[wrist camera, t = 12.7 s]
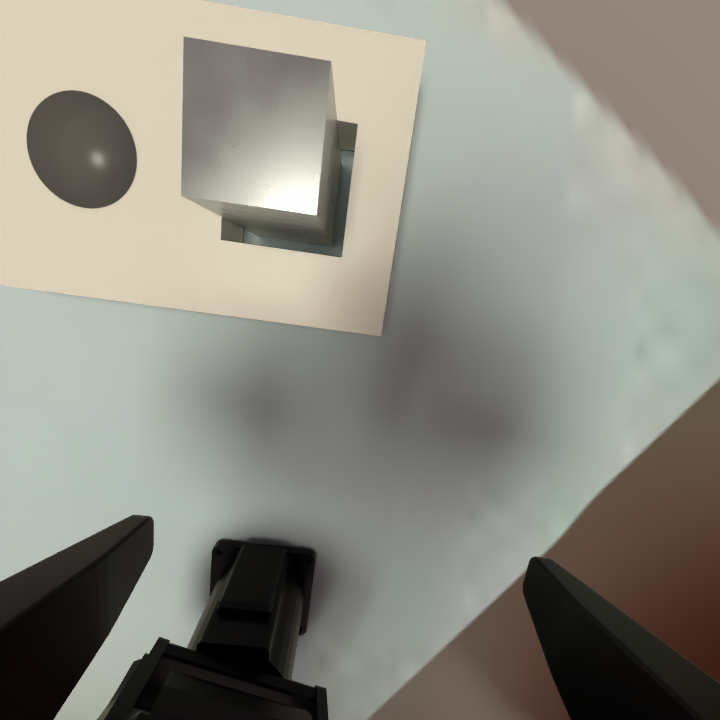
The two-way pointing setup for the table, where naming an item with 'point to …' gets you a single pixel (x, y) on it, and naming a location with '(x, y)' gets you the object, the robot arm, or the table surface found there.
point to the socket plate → (164, 161)
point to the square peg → (261, 139)
